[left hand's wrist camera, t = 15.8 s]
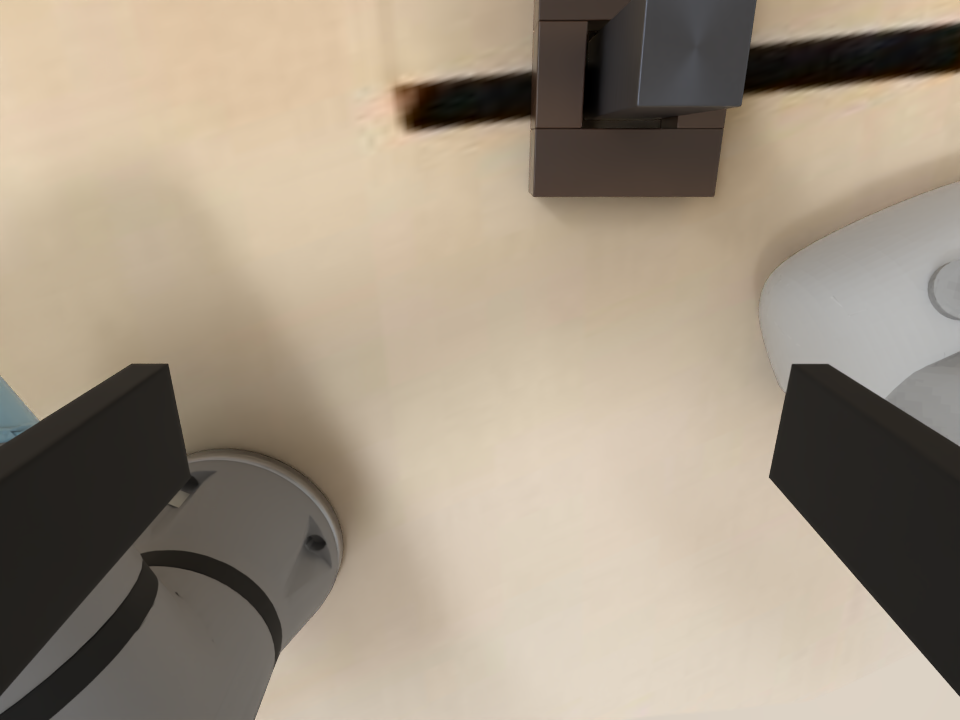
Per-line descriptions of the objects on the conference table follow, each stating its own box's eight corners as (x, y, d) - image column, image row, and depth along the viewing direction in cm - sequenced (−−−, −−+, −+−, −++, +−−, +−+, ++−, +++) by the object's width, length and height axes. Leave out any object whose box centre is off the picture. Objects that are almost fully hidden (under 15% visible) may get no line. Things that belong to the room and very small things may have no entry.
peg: (653, 119, 33) (742, 106, 22) (583, 119, 33) (636, 106, 22) (660, 41, 32) (759, -17, 20) (588, 41, 32) (647, -17, 20)
